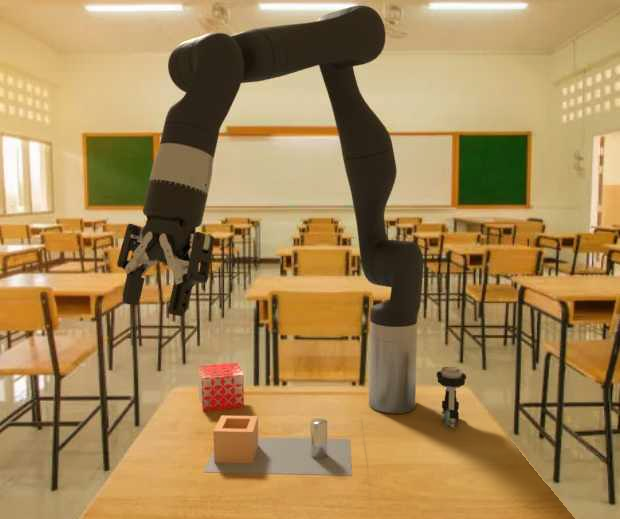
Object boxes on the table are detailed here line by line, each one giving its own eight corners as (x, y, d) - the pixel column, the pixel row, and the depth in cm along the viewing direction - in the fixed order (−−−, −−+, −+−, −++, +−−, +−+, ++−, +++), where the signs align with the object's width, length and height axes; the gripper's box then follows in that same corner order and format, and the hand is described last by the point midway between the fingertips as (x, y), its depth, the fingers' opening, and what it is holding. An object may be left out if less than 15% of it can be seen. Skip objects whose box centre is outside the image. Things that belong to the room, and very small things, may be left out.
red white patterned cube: (199, 403, 114) (198, 365, 113) (238, 399, 116) (237, 362, 115) (202, 418, 106) (201, 378, 105) (244, 414, 108) (243, 374, 107)
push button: (467, 431, 100) (469, 377, 99) (437, 429, 101) (439, 376, 100) (462, 416, 107) (464, 365, 106) (434, 414, 108) (435, 364, 106)
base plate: (219, 444, 95) (219, 436, 95) (349, 447, 94) (349, 439, 94) (203, 481, 83) (203, 471, 83) (351, 484, 82) (351, 475, 82)
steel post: (310, 460, 90) (311, 418, 89) (327, 460, 89) (327, 418, 89) (310, 468, 87) (310, 425, 86) (326, 468, 87) (327, 425, 86)
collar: (221, 444, 92) (221, 415, 91) (258, 445, 91) (257, 416, 91) (214, 462, 86) (213, 431, 85) (253, 463, 85) (252, 431, 85)
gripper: (239, 196, 71) (213, 322, 70) (163, 191, 79) (138, 304, 78) (198, 179, 65) (168, 316, 64) (120, 175, 73) (92, 297, 71)
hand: (152, 309), depth 71 cm, fingers open, 8 cm apart
